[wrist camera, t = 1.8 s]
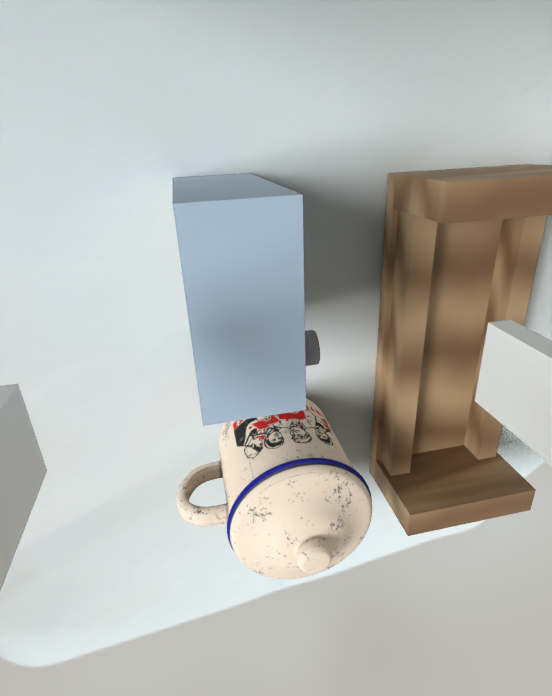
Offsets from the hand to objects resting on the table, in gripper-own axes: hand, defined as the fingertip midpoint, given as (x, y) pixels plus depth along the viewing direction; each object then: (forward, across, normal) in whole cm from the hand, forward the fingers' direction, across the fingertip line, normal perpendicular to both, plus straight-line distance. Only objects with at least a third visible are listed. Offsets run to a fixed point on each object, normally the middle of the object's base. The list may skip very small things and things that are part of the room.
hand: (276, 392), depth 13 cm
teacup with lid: (+18, +1, -14) cm, 23 cm away
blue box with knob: (+17, 0, 0) cm, 17 cm away
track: (+17, +16, -8) cm, 25 cm away
